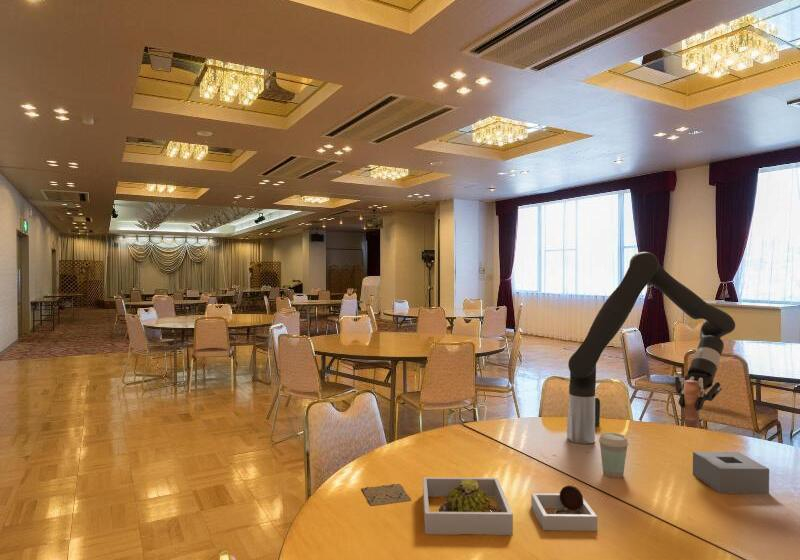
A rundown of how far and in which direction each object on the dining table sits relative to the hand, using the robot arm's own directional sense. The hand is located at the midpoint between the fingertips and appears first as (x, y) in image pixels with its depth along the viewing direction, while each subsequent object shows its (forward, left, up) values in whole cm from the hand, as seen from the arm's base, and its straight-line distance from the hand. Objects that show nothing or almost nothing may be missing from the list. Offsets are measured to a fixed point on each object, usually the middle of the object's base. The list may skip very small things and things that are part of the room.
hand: (689, 407), depth 164 cm
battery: (-13, +51, -21) cm, 56 cm away
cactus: (-72, -31, -21) cm, 81 cm away
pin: (+2, +1, -6) cm, 6 cm away
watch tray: (-48, -31, -20) cm, 61 cm away
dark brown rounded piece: (-47, -32, -21) cm, 60 cm away
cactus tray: (-73, -29, -20) cm, 82 cm away
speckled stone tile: (-94, -18, -21) cm, 99 cm away
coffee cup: (-24, -2, -21) cm, 32 cm away
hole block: (+8, -8, -20) cm, 23 cm away
